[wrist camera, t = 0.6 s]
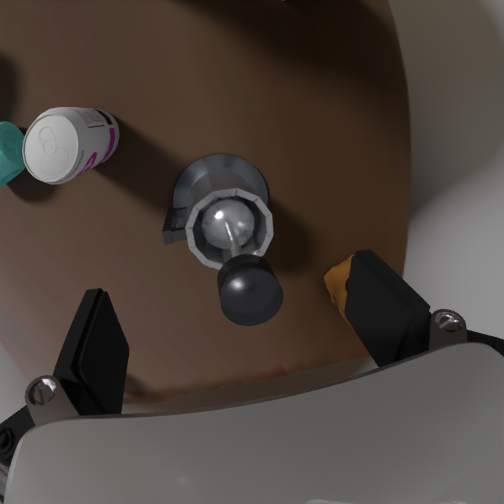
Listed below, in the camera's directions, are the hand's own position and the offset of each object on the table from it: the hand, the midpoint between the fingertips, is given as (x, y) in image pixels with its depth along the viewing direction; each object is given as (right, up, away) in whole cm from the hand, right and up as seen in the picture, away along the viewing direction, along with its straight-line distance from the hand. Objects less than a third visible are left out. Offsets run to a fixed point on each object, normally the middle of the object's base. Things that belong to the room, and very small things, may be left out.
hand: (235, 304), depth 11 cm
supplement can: (-22, +18, +25) cm, 38 cm away
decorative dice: (-38, +18, +23) cm, 47 cm away
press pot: (-4, +10, +33) cm, 34 cm away
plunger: (-2, +5, +24) cm, 25 cm away
